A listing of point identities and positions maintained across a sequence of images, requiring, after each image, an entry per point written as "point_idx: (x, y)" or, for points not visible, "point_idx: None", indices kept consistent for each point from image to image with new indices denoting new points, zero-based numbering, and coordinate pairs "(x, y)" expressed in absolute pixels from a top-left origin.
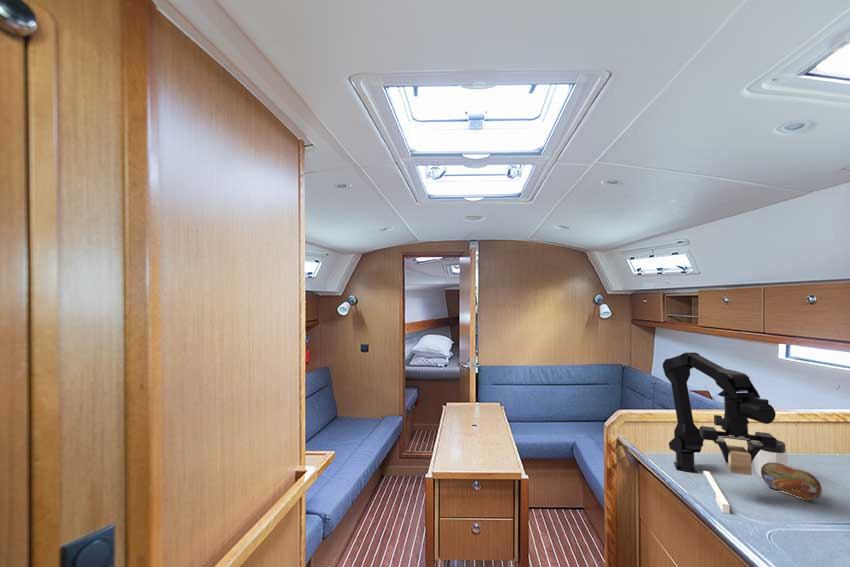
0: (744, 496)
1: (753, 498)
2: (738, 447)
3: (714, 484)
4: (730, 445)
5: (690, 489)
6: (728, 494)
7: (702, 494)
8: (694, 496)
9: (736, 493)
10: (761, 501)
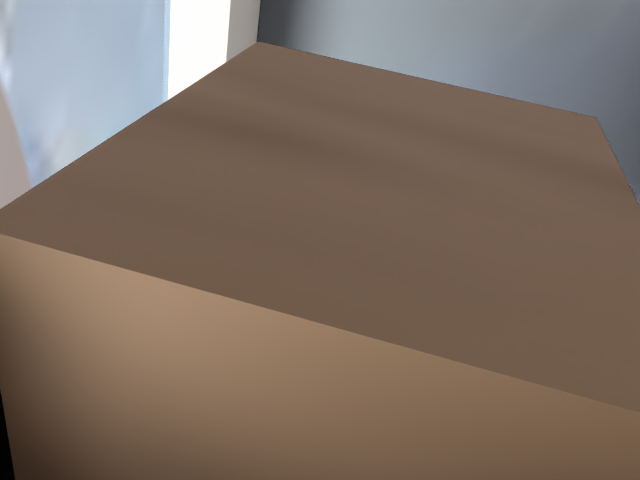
0: (504, 69)
1: (576, 102)
2: (442, 476)
3: (201, 53)
4: (203, 285)
5: (35, 7)
6: (355, 51)
7: (118, 99)
8: (53, 150)
9: (457, 6)
10: (616, 158)
